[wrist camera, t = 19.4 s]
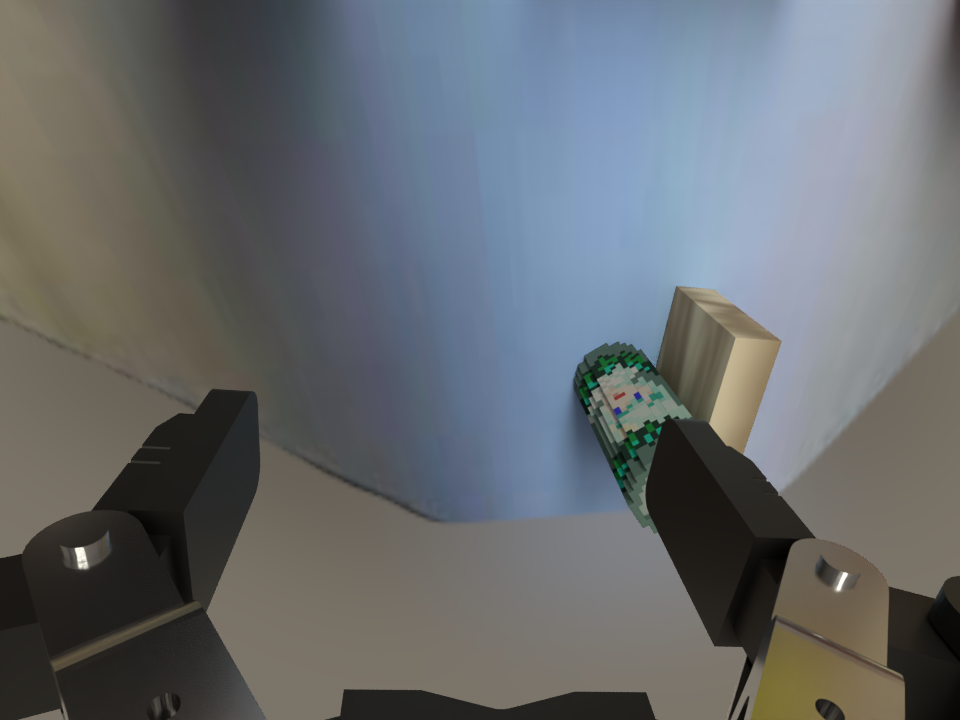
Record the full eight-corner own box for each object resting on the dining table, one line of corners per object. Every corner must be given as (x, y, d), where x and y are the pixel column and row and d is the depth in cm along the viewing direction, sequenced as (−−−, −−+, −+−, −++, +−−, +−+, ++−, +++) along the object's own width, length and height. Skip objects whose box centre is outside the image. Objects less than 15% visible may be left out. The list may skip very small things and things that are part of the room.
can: (629, 329, 48) (708, 431, 34) (661, 386, 50) (747, 502, 37) (561, 369, 49) (612, 483, 35) (596, 423, 51) (657, 549, 38)
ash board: (631, 462, 53) (672, 542, 44) (676, 286, 47) (735, 337, 38) (664, 464, 54) (712, 543, 45) (714, 289, 47) (781, 341, 38)
